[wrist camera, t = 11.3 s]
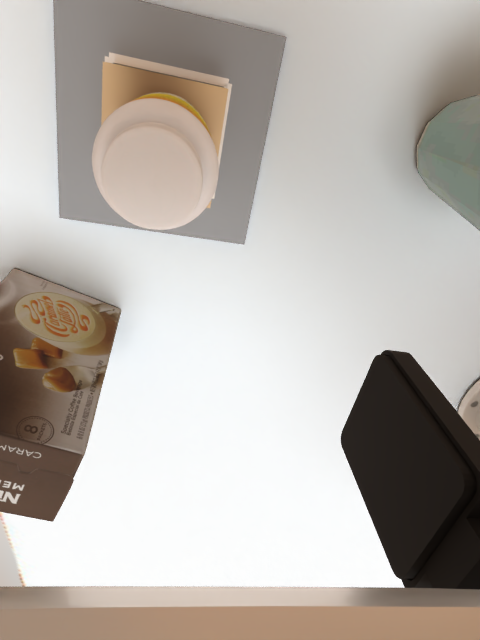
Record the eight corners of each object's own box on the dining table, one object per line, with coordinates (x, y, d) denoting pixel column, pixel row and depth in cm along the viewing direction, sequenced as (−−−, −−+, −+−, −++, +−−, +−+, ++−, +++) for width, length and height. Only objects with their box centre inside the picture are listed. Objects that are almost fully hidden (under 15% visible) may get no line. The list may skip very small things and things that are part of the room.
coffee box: (-5, 328, 35) (-131, 491, 21) (13, 265, 32) (-116, 405, 18) (101, 362, 38) (52, 525, 24) (125, 308, 35) (86, 455, 21)
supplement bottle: (110, 92, 23) (62, 101, 14) (208, 91, 24) (221, 99, 15) (124, 192, 26) (93, 251, 17) (212, 190, 26) (225, 245, 18)
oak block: (223, 87, 27) (228, 88, 24) (207, 193, 30) (210, 208, 27) (113, 63, 26) (102, 61, 22) (110, 177, 29) (100, 190, 26)
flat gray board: (284, 37, 26) (286, 37, 26) (243, 241, 33) (244, 244, 33) (55, -20, 24) (52, -22, 23) (61, 215, 31) (59, 218, 30)
